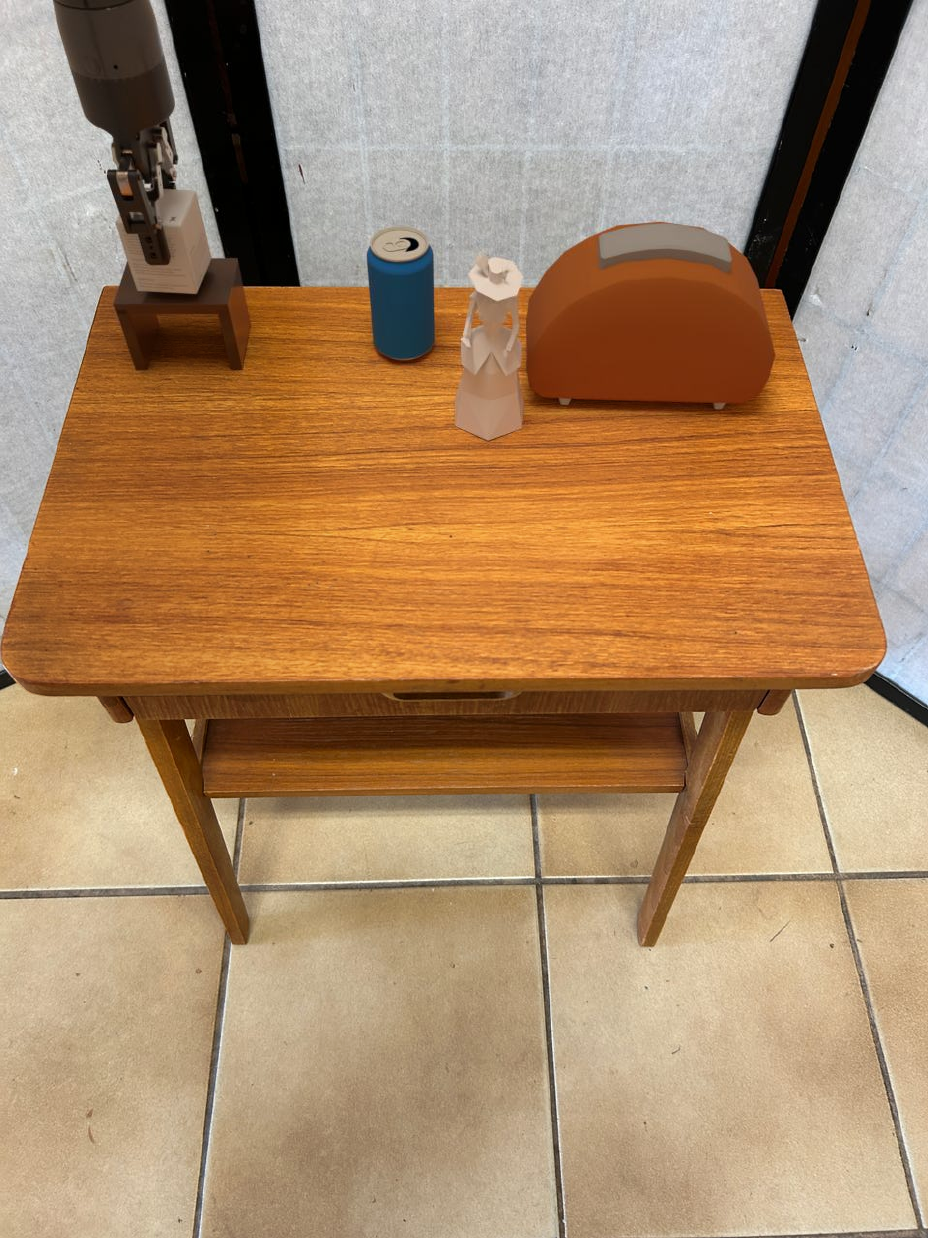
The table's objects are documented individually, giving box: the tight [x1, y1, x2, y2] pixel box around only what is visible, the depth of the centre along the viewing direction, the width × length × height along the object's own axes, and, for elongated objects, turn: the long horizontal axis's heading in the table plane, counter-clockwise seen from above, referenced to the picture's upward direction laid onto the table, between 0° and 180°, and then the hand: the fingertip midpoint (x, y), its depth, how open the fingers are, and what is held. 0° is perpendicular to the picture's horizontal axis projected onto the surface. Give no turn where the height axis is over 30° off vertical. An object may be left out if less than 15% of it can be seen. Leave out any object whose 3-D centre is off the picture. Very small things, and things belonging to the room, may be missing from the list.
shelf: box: [112, 257, 252, 371], centre depth 97 cm, size 8×11×8 cm
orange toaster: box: [525, 221, 776, 410], centre depth 91 cm, size 23×9×17 cm, turn 88°
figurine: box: [454, 251, 525, 442], centre depth 87 cm, size 7×8×18 cm
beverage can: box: [366, 225, 436, 361], centre depth 96 cm, size 6×6×12 cm
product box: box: [114, 187, 212, 294], centre depth 90 cm, size 6×6×7 cm
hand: (165, 240), depth 90 cm, fingers closed on product box, 6 cm apart
